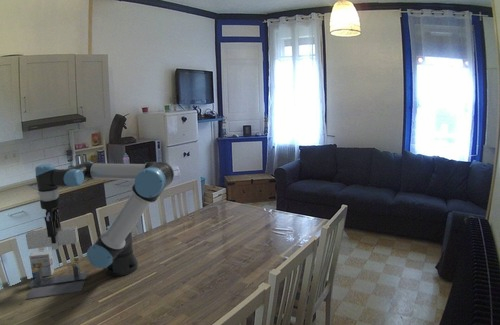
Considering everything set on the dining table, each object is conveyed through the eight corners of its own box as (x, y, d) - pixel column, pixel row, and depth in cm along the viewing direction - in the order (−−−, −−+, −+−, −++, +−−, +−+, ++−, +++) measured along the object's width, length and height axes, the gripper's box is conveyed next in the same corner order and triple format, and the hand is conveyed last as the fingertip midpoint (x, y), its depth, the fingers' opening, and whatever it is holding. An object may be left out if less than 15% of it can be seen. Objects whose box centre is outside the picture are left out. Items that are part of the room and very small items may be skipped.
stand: (87, 274, 166) (85, 256, 164) (85, 280, 160) (82, 262, 158) (32, 281, 160) (29, 263, 158) (27, 289, 154) (24, 270, 152)
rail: (78, 239, 160) (76, 225, 159) (76, 243, 157) (74, 229, 155) (31, 245, 155) (28, 231, 154) (28, 249, 151) (25, 234, 150)
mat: (84, 281, 159) (84, 280, 159) (81, 291, 152) (81, 290, 152) (32, 289, 154) (32, 288, 154) (25, 299, 146) (25, 298, 146)
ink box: (32, 278, 163) (28, 255, 160) (35, 273, 167) (31, 251, 165) (51, 275, 165) (48, 253, 162) (54, 270, 170) (51, 248, 167)
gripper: (46, 194, 159) (53, 240, 164) (33, 205, 142) (42, 256, 147) (63, 192, 160) (70, 238, 165) (53, 203, 144) (61, 254, 149)
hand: (57, 246), depth 156 cm, fingers closed on rail, 4 cm apart
